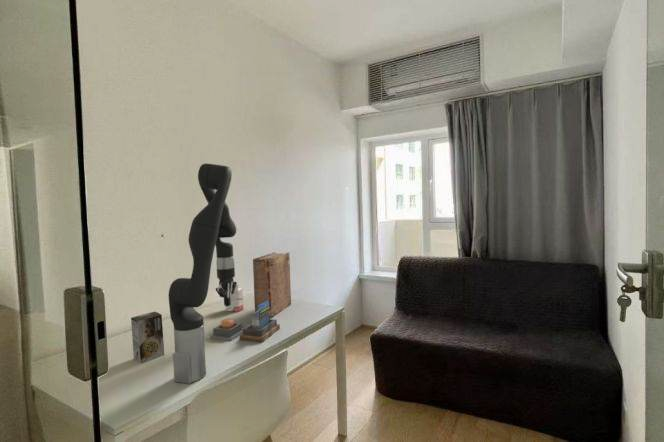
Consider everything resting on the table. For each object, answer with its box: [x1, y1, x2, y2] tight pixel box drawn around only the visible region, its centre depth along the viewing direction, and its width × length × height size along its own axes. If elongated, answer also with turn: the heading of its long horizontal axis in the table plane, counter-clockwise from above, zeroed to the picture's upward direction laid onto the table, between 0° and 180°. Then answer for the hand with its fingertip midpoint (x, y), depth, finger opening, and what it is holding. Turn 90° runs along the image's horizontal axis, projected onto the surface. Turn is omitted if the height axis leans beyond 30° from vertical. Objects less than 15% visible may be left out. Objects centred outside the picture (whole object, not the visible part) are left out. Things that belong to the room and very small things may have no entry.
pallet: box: [239, 318, 281, 343], centre depth 154 cm, size 16×11×4 cm
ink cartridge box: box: [225, 284, 244, 313], centre depth 191 cm, size 9×5×15 cm, turn 73°
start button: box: [220, 317, 235, 329], centre depth 154 cm, size 5×5×4 cm
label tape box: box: [251, 301, 270, 330], centre depth 153 cm, size 9×4×12 cm, turn 163°
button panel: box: [209, 322, 243, 341], centre depth 154 cm, size 11×11×4 cm
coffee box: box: [130, 311, 165, 364], centre depth 133 cm, size 9×6×16 cm
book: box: [252, 251, 292, 319], centre depth 188 cm, size 25×9×30 cm, turn 163°
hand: (227, 305), depth 154 cm, fingers closed
